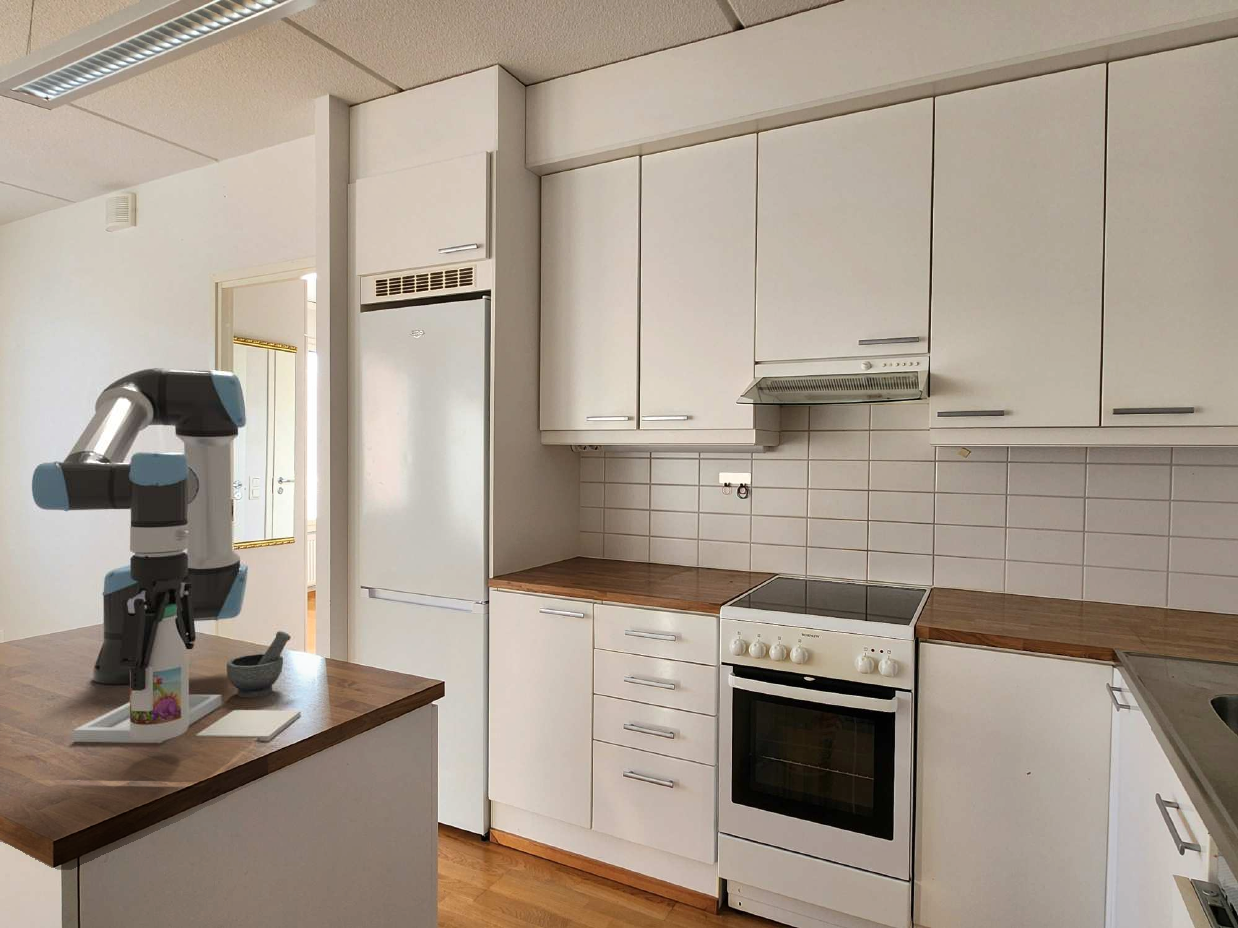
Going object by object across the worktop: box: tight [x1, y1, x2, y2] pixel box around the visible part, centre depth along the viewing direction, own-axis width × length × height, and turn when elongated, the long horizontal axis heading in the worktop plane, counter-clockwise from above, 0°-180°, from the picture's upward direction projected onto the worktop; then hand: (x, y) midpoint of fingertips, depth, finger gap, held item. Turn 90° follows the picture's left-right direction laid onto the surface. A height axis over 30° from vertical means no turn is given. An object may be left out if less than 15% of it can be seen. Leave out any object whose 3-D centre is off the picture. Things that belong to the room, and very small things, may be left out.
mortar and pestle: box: [226, 630, 291, 698], centre depth 146 cm, size 11×9×12 cm
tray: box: [73, 693, 223, 744], centre depth 129 cm, size 18×14×2 cm
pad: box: [195, 709, 302, 742], centre depth 129 cm, size 12×12×1 cm
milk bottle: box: [129, 603, 190, 742], centre depth 115 cm, size 8×8×20 cm
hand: (159, 700), depth 115 cm, fingers closed on milk bottle, 8 cm apart
